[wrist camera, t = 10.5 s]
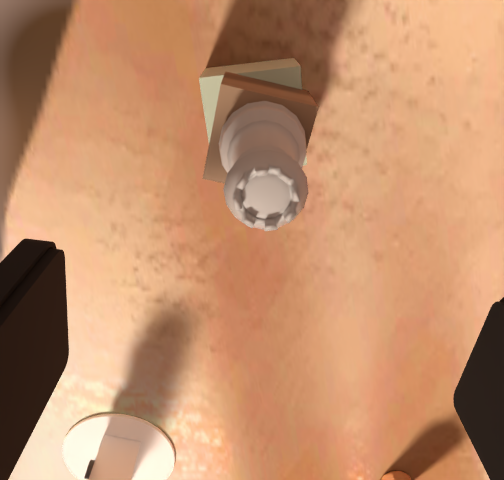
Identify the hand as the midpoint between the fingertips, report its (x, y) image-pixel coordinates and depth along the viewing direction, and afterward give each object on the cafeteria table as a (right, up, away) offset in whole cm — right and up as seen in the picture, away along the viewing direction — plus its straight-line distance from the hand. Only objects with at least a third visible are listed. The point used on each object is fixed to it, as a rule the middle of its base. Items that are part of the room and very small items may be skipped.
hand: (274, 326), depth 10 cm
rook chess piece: (0, +7, +14) cm, 16 cm away
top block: (0, +9, +19) cm, 21 cm away
